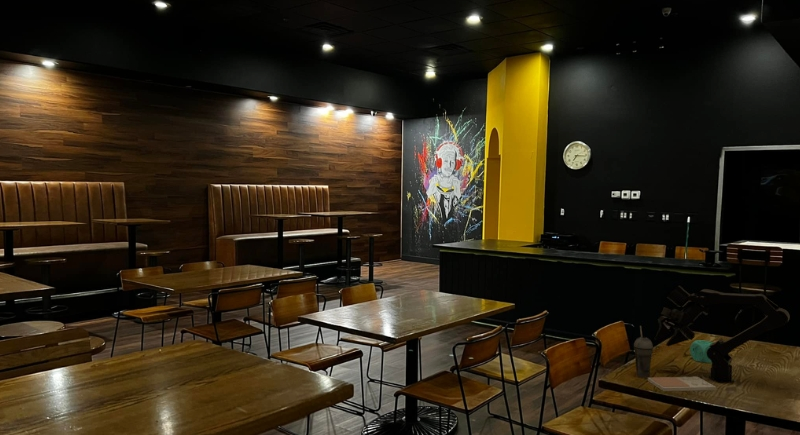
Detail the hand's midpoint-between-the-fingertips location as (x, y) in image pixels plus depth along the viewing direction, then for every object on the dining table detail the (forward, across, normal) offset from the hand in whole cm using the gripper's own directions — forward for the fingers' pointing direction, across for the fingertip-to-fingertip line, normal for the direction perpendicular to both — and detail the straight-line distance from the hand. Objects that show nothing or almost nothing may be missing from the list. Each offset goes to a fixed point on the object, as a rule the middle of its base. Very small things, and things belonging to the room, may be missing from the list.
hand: (661, 342), depth 231 cm
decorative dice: (-12, -20, +31) cm, 38 cm away
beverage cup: (+15, 0, +4) cm, 15 cm away
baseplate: (+8, +12, +11) cm, 18 cm away
